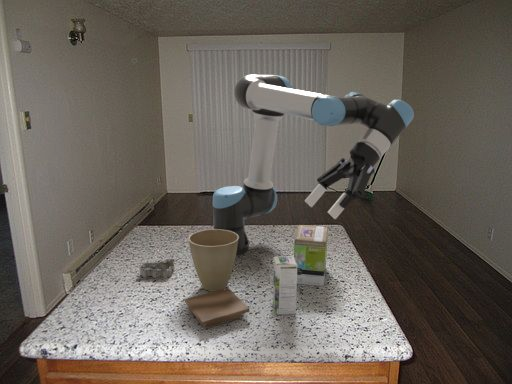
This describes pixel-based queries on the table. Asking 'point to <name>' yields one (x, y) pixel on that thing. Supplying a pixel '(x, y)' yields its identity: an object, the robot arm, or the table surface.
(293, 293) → the syrup box
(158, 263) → the egg carton
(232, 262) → the plant pot
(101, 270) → the table surface
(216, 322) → the stand
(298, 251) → the tea box
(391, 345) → the table surface
